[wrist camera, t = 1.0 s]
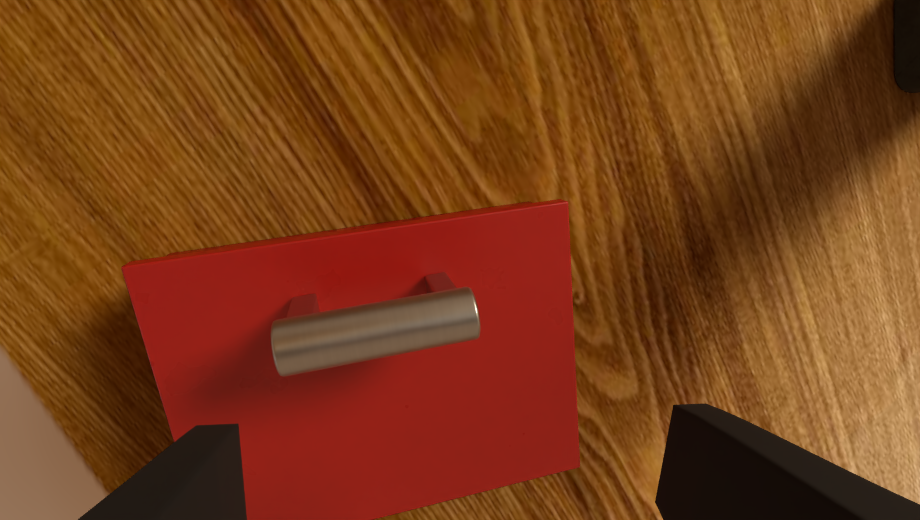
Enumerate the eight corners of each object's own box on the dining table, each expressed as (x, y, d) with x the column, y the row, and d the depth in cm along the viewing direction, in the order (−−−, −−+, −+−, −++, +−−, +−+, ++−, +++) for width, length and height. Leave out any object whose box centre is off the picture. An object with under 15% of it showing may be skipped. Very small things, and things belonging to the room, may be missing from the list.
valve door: (128, 261, 14) (44, 312, 10) (561, 198, 17) (629, 220, 13) (214, 547, 17) (174, 675, 13) (573, 458, 19) (632, 542, 15)
